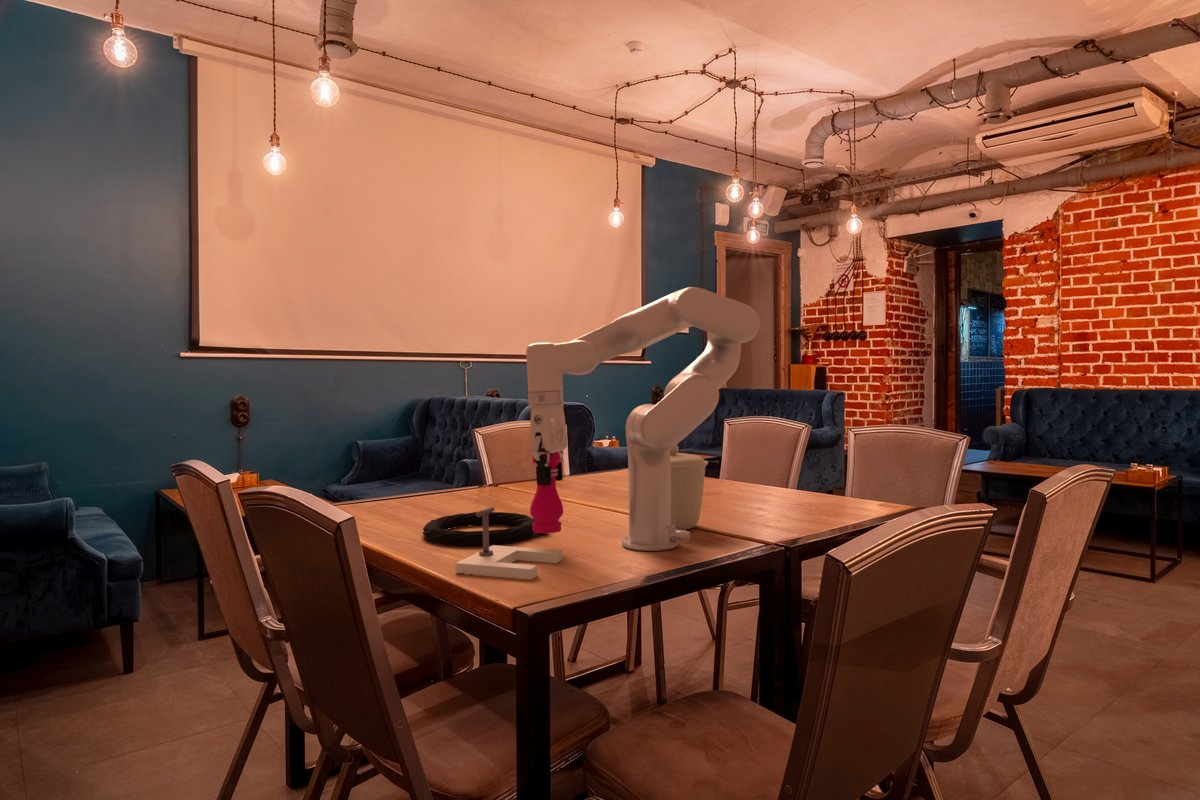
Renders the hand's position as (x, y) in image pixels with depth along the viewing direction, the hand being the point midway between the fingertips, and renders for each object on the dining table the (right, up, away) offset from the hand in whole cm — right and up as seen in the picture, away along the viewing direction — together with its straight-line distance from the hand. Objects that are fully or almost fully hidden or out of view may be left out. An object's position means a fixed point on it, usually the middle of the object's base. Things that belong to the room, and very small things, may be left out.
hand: (550, 481), depth 165 cm
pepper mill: (-1, -11, 0) cm, 11 cm away
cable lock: (-17, -15, +18) cm, 29 cm away
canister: (+29, -14, +25) cm, 41 cm away
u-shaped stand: (-7, -16, -12) cm, 21 cm away
